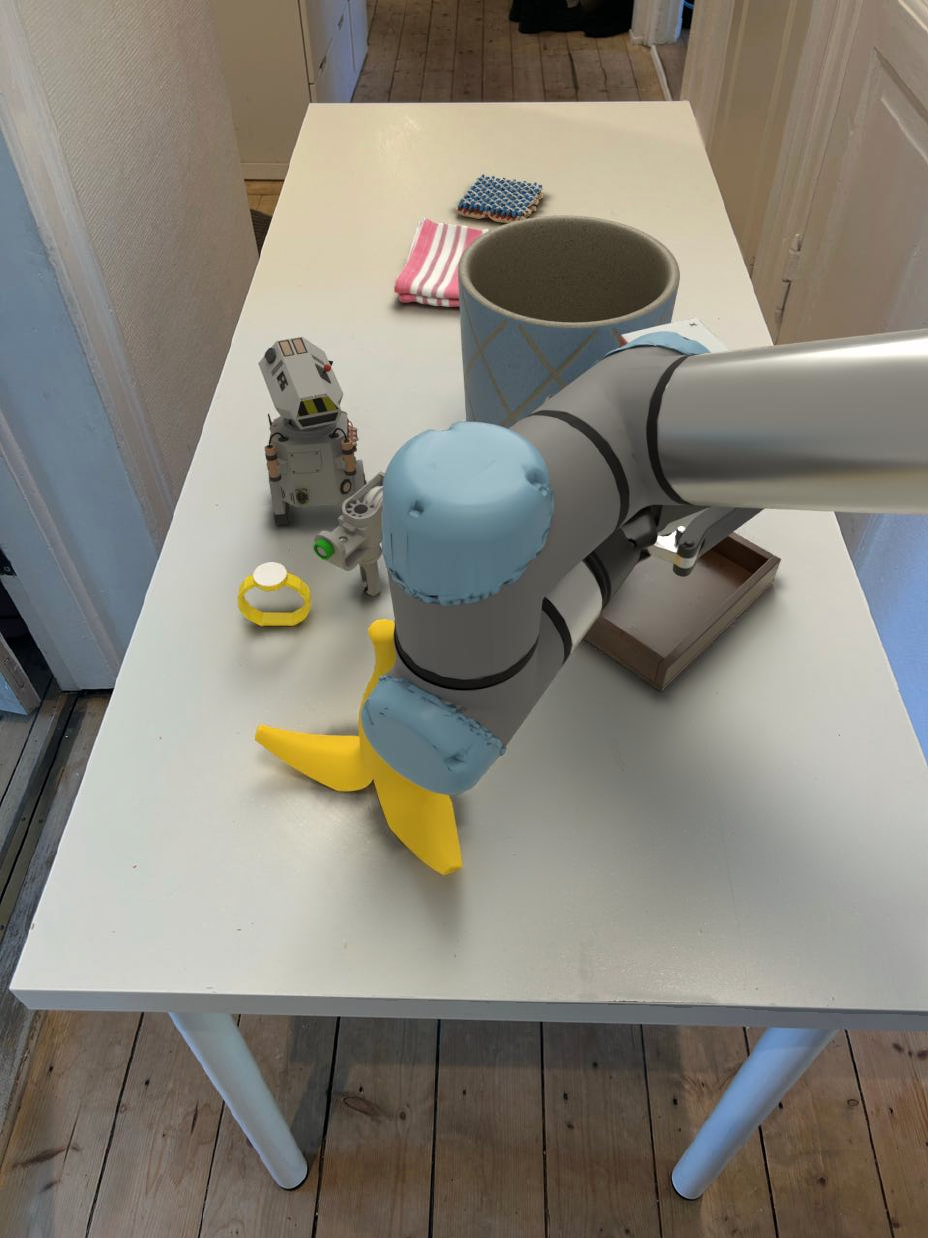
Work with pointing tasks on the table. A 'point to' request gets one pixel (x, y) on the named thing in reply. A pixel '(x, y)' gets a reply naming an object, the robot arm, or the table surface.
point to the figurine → (307, 430)
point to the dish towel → (434, 264)
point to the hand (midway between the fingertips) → (696, 393)
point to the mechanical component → (357, 535)
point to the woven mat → (500, 200)
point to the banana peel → (375, 773)
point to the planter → (553, 306)
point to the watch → (273, 579)
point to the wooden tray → (680, 608)
